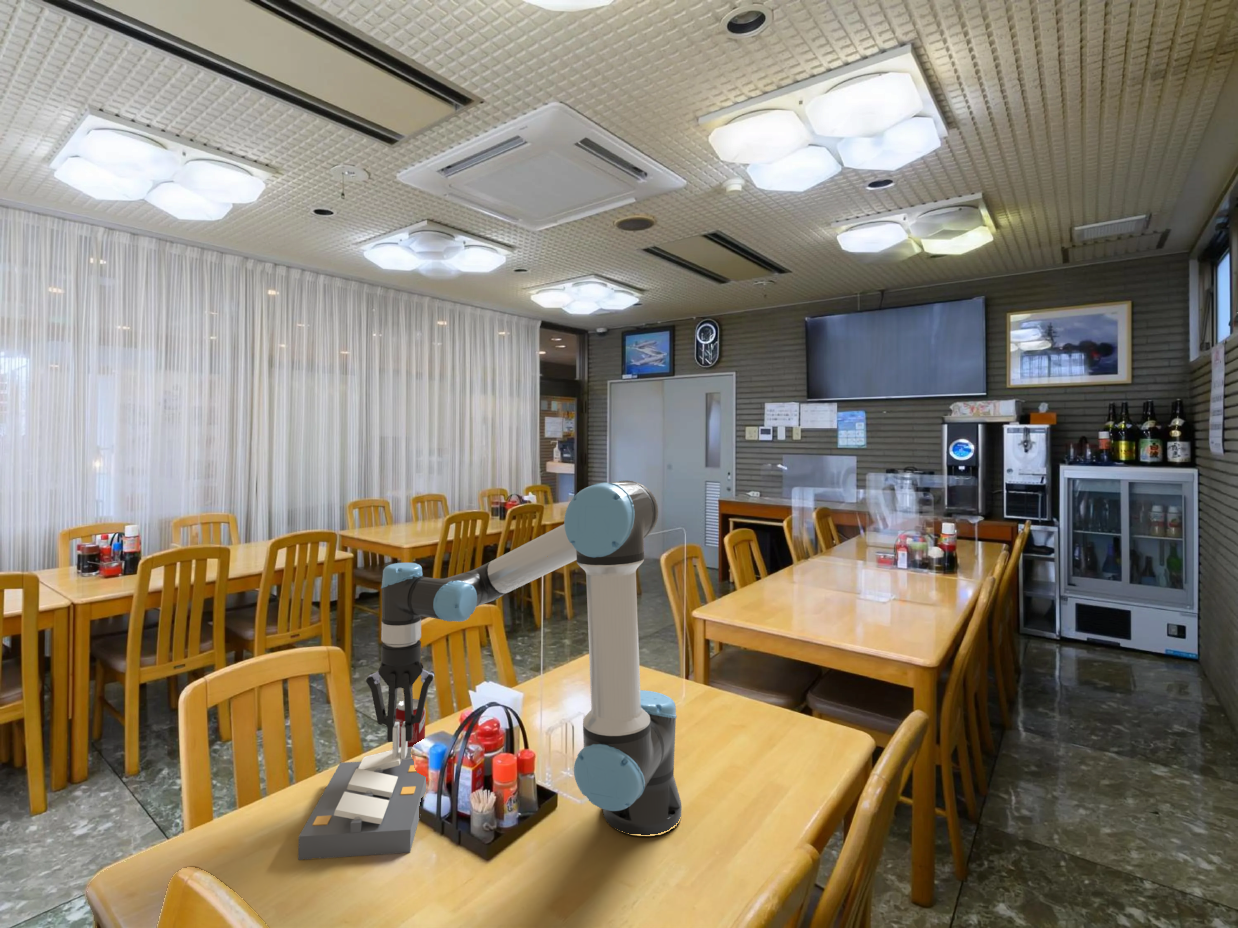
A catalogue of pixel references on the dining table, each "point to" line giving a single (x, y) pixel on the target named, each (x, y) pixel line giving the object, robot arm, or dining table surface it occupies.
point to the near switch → (362, 808)
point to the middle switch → (372, 783)
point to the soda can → (417, 727)
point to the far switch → (380, 761)
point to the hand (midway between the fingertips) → (399, 755)
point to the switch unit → (360, 837)
